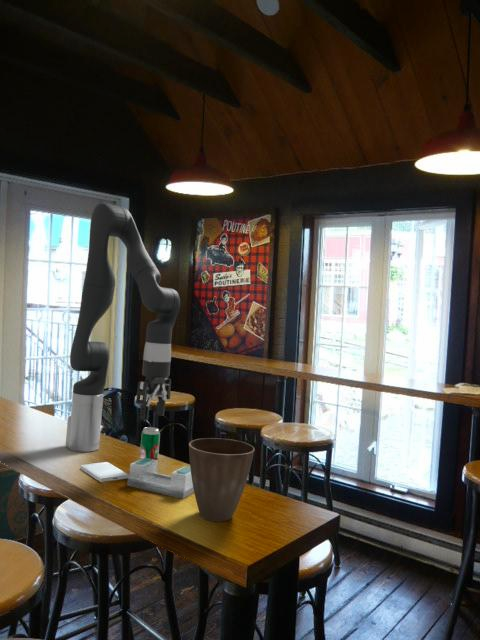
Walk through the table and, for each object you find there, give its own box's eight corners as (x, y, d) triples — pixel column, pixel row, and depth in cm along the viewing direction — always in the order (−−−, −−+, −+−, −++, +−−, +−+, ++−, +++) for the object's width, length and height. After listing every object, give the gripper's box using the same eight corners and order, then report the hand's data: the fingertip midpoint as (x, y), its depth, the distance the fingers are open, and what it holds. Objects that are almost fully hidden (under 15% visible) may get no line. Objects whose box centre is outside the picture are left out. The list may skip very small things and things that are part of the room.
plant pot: (169, 512, 124) (175, 442, 124) (214, 499, 135) (220, 434, 135) (216, 534, 114) (223, 458, 114) (261, 518, 125) (267, 449, 125)
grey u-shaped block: (127, 485, 139) (129, 462, 139) (144, 477, 147) (146, 456, 147) (183, 498, 133) (185, 475, 133) (197, 489, 141) (199, 467, 141)
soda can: (136, 469, 153) (140, 426, 153) (154, 468, 155) (157, 426, 155) (140, 474, 149) (144, 431, 148) (158, 474, 151) (162, 431, 150)
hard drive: (80, 464, 150) (101, 477, 140) (108, 461, 155) (129, 473, 145) (80, 470, 150) (100, 484, 140) (107, 467, 155) (129, 480, 145)
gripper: (158, 356, 160) (153, 412, 160) (131, 358, 146) (126, 419, 146) (181, 359, 157) (176, 415, 157) (155, 361, 143) (150, 423, 144)
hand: (152, 417), depth 152 cm, fingers open, 8 cm apart
